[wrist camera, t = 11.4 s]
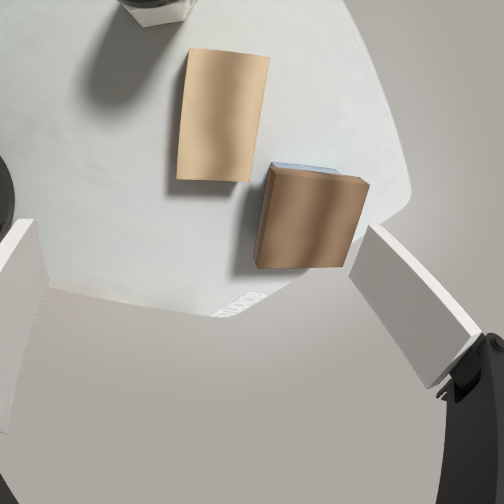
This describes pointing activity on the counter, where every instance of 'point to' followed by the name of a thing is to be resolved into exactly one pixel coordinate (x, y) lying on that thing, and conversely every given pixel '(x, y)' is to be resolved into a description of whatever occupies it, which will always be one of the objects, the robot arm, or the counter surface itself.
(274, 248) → the lid
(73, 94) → the counter surface
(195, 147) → the tan wooden block
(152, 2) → the jar
